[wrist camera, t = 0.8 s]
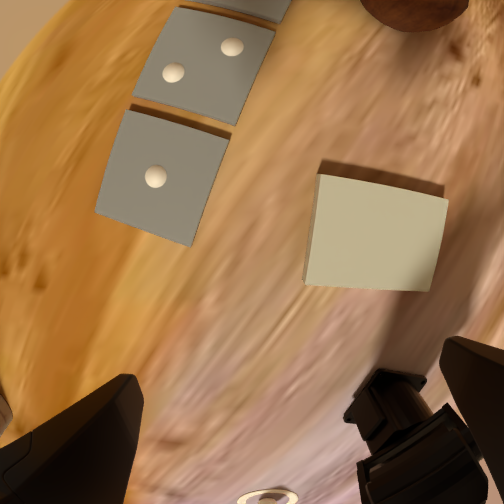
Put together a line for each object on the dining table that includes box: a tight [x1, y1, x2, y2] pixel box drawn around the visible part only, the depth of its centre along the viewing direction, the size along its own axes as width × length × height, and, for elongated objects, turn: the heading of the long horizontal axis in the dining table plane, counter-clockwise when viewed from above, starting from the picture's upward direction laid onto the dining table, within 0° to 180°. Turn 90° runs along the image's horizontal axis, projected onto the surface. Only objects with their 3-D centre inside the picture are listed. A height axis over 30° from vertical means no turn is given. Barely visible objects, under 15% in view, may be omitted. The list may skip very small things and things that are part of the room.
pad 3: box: [95, 109, 229, 248], centre depth 18 cm, size 7×7×1 cm
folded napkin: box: [302, 174, 449, 292], centre depth 19 cm, size 10×7×1 cm
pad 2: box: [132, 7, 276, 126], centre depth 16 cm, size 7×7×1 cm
